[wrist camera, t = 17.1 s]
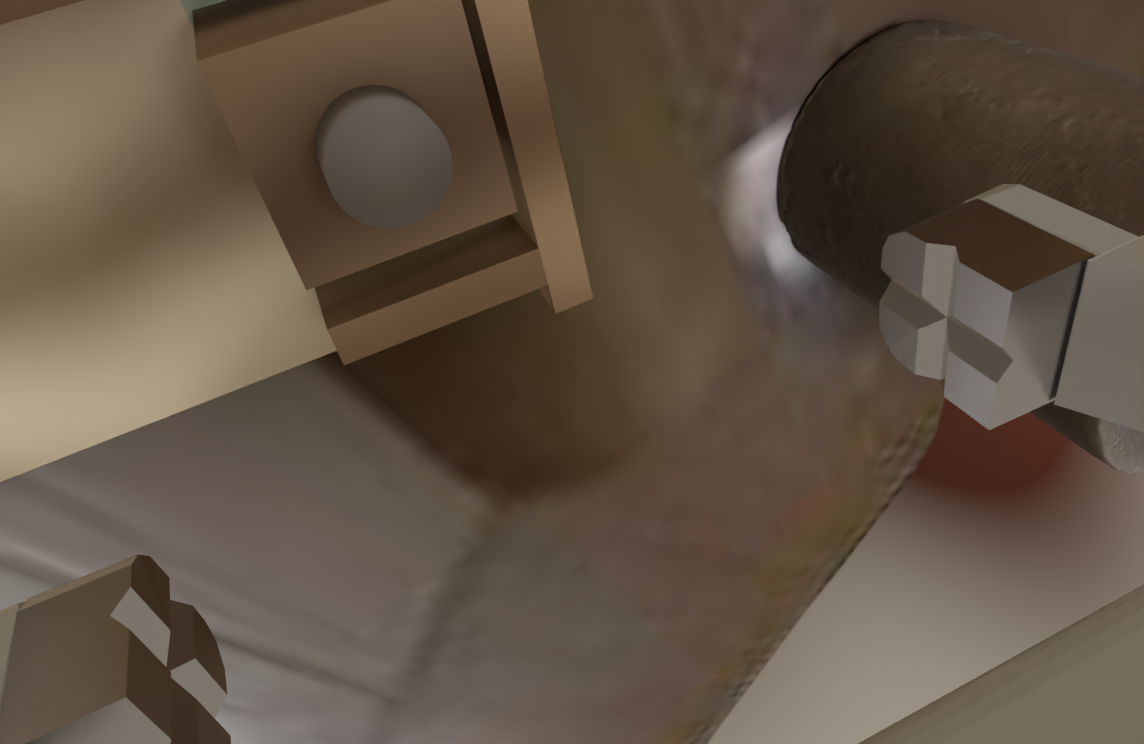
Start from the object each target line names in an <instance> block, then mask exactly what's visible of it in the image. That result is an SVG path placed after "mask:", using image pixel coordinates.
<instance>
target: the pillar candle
mask: <svg viewBox="0 0 1144 744" xmlns="http://www.w3.org/2000/svg"><path fill="white" fill-rule="evenodd" d="M1002 184H1021V185H1023V186H1025V187H1027V188H1030V189H1032V190H1034V191H1036V192H1039V193H1041V194H1043V195H1045V196H1048V197H1050V198H1052V199H1054V200H1057V201H1059V202H1061V203H1064V204H1066V205H1068V206H1070V207H1073V208H1075V209H1077V210H1079V211H1082V212H1084V213H1086V214H1088V215H1091V216H1093V217H1095V218H1097V219H1100V220H1102V221H1104V222H1107V223H1109V224H1111V225H1113V226H1116V227H1118V228H1120V229H1122V230H1125V231H1127V232H1129V233H1131V234H1134V235H1136V236H1138V237H1141V236H1143V235H1144V77H1143V76H1139V75H1136V74H1132V73H1129V72H1127V71H1124V70H1120V69H1117V68H1114V67H1111V66H1107V65H1104V64H1100V63H1096V62H1092V61H1089V60H1086V59H1083V58H1079V57H1076V56H1072V55H1069V54H1067V53H1064V52H1058V51H1053V50H1049V49H1045V48H1042V47H1038V46H1036V45H1031V44H1029V43H1026V42H1023V41H1021V40H1020V39H1014V38H1011V37H1006V36H1003V35H998V34H996V33H993V32H988V31H984V30H980V29H974V28H969V27H962V26H958V25H955V24H951V23H946V22H941V21H928V20H923V21H915V22H908V23H904V24H900V25H897V26H895V27H893V28H891V29H887V30H885V31H883V32H881V33H879V34H877V35H876V36H874V37H873V38H871V39H870V40H869V41H867V42H866V43H864V44H863V45H861V46H859V47H858V48H856V49H855V50H854V51H852V52H851V53H850V54H848V55H847V56H846V57H845V58H844V59H843V60H842V61H840V62H839V63H838V64H837V65H836V66H835V67H834V68H833V69H832V70H831V71H830V72H829V73H828V74H827V75H826V76H825V77H824V78H823V79H822V81H821V82H820V83H819V85H818V86H817V87H816V90H815V91H814V93H813V94H812V95H810V97H809V99H808V100H807V102H806V104H805V106H804V108H803V110H802V112H801V114H800V116H799V118H798V119H797V120H796V122H795V124H794V131H793V132H792V133H791V135H790V138H789V141H788V144H787V147H786V150H785V155H784V159H783V162H782V166H781V179H780V191H779V209H780V212H779V214H780V216H781V220H782V222H783V223H785V226H786V229H787V231H788V232H789V233H790V235H791V238H792V242H793V245H794V246H795V248H796V250H797V251H798V252H800V253H801V254H802V255H803V256H804V257H805V258H807V259H808V260H809V261H810V262H812V263H813V264H815V265H816V266H818V267H819V268H821V269H822V270H823V271H825V272H826V273H828V274H829V275H831V276H832V277H833V278H835V279H836V280H838V281H839V282H841V283H842V284H844V285H845V286H846V287H848V288H849V289H850V290H852V291H853V292H855V293H856V294H858V295H859V296H861V297H862V298H863V299H865V300H866V301H868V302H869V303H871V304H872V305H874V306H875V307H877V308H878V309H879V301H880V300H881V298H882V296H883V294H884V293H885V291H886V289H887V287H888V285H889V284H890V282H891V279H890V278H889V277H888V276H887V275H886V274H885V273H884V272H883V271H882V269H881V260H882V249H883V247H884V245H885V242H886V240H887V238H888V236H889V235H891V234H893V233H895V232H898V231H900V230H902V229H905V228H907V227H909V226H912V225H914V224H916V223H919V222H921V221H923V220H925V219H928V218H930V217H932V216H935V215H937V214H939V213H942V212H944V211H946V210H949V209H951V208H953V207H955V206H958V205H960V204H963V203H964V202H965V201H966V200H969V199H971V198H973V197H975V196H977V195H980V194H982V193H984V192H986V191H988V190H991V189H993V188H995V187H997V186H999V185H1002ZM1054 402H1055V400H1054V401H1052V402H1050V403H1047V404H1045V405H1043V406H1041V407H1039V408H1036V409H1034V410H1032V411H1030V412H1031V413H1032V414H1034V415H1035V416H1036V417H1038V418H1039V419H1041V420H1042V421H1043V422H1045V423H1046V424H1048V425H1049V426H1051V427H1052V428H1054V429H1055V430H1056V431H1058V432H1059V433H1061V434H1062V435H1064V436H1065V437H1066V438H1068V439H1069V440H1071V441H1072V442H1074V443H1076V444H1077V445H1078V446H1080V447H1081V448H1083V449H1084V450H1086V451H1087V452H1089V453H1090V454H1091V455H1093V456H1094V457H1096V458H1098V459H1100V460H1101V461H1103V462H1104V463H1106V464H1107V465H1109V466H1110V467H1111V468H1113V469H1115V470H1117V471H1121V472H1123V473H1126V474H1144V432H1142V431H1139V430H1135V429H1132V428H1129V427H1126V426H1122V425H1119V424H1116V423H1113V422H1109V421H1106V420H1103V419H1100V418H1096V417H1093V416H1090V415H1087V414H1084V413H1080V412H1077V411H1074V410H1071V409H1067V408H1064V407H1061V406H1058V405H1054Z"/></svg>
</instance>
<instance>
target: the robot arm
mask: <svg viewBox="0 0 1144 744" xmlns="http://www.w3.org/2000/svg"><path fill="white" fill-rule="evenodd" d="M881 269H882V271H883V272H884V273H885V274H886V275H887V276H888V277H889V278H890V279H891V282H890V284H889V285H888V287H887V289H886V291H885V293H884V294H883V296H882V298H881V300H880V301H879V326H880V329H881V331H882V334H883V336H884V339H885V341H886V344H887V346H888V348H889V349H890V351H891V352H892V353H893V354H894V356H895V357H896V358H897V360H898V361H899V362H900V363H902V364H903V365H904V366H905V367H907V368H908V369H909V370H910V371H912V372H913V373H914V374H917V375H921V376H926V377H931V378H935V379H940V380H941V385H942V390H943V395H944V397H946V398H947V399H948V400H950V401H951V402H952V403H954V404H955V405H956V406H958V407H959V408H960V409H962V410H963V411H964V412H966V413H967V414H968V415H970V416H971V417H972V418H974V419H975V420H976V421H978V422H979V423H980V424H982V425H983V426H984V427H985V428H987V429H988V430H990V429H993V428H995V427H997V426H999V425H1001V424H1003V423H1006V422H1008V421H1010V420H1012V419H1015V418H1017V417H1019V416H1021V415H1023V414H1025V413H1027V412H1030V411H1032V410H1034V409H1036V408H1039V407H1041V406H1043V405H1045V404H1047V403H1050V402H1052V401H1054V400H1055V402H1054V405H1058V406H1061V407H1064V408H1067V409H1071V410H1074V411H1077V412H1080V413H1084V414H1087V415H1090V416H1093V417H1096V418H1100V419H1103V420H1106V421H1109V422H1113V423H1116V424H1119V425H1122V426H1126V427H1129V428H1132V429H1135V430H1139V431H1142V432H1144V235H1143V236H1141V237H1138V236H1136V235H1134V234H1131V233H1129V232H1127V231H1125V230H1122V229H1120V228H1118V227H1116V226H1113V225H1111V224H1109V223H1107V222H1104V221H1102V220H1100V219H1097V218H1095V217H1093V216H1091V215H1088V214H1086V213H1084V212H1082V211H1079V210H1077V209H1075V208H1073V207H1070V206H1068V205H1066V204H1064V203H1061V202H1059V201H1057V200H1054V199H1052V198H1050V197H1048V196H1045V195H1043V194H1041V193H1039V192H1036V191H1034V190H1032V189H1030V188H1027V187H1025V186H1023V185H1021V184H1002V185H999V186H997V187H995V188H993V189H991V190H988V191H986V192H984V193H982V194H980V195H977V196H975V197H973V198H971V199H969V200H966V201H965V202H964V203H963V204H960V205H958V206H955V207H953V208H951V209H949V210H946V211H944V212H942V213H939V214H937V215H935V216H932V217H930V218H928V219H925V220H923V221H921V222H919V223H916V224H914V225H912V226H909V227H907V228H905V229H902V230H900V231H898V232H895V233H893V234H891V235H889V236H888V238H887V240H886V242H885V245H884V247H883V249H882V260H881ZM226 696H227V688H226V678H225V669H224V665H223V662H222V659H221V656H220V652H219V649H218V646H217V643H216V640H215V638H214V636H213V635H212V633H211V631H210V629H209V627H208V626H207V624H206V622H205V620H204V619H203V618H202V617H201V615H200V614H199V613H198V612H197V610H196V609H195V608H194V607H193V606H192V605H188V604H184V603H180V602H176V601H172V600H170V588H169V577H168V576H167V575H166V573H165V572H164V571H163V570H162V569H161V568H160V567H159V566H158V565H157V564H156V562H155V561H154V560H153V559H152V558H151V557H150V556H144V555H136V556H133V557H131V558H128V559H126V560H123V561H121V562H118V563H116V564H113V565H111V566H108V567H106V568H103V569H101V570H98V571H96V572H93V573H91V574H88V575H86V576H83V577H81V578H78V579H76V580H73V581H71V582H68V583H66V584H64V585H61V586H59V587H56V588H54V589H51V590H49V591H46V592H44V593H41V594H39V595H36V596H34V597H31V598H29V599H27V601H25V602H22V603H18V604H16V605H13V606H11V607H9V608H6V609H4V610H1V611H0V744H231V739H230V735H229V734H228V733H227V732H226V730H225V729H224V728H223V727H222V726H221V725H220V724H219V723H218V722H217V721H216V720H215V717H216V715H217V713H218V711H219V709H220V707H221V706H222V704H223V702H224V700H225V698H226ZM858 744H1144V585H1142V586H1140V587H1138V588H1136V589H1134V590H1133V591H1131V592H1129V593H1127V594H1125V595H1124V596H1122V597H1120V598H1118V599H1117V600H1115V601H1113V602H1111V603H1109V604H1108V605H1106V606H1104V607H1102V608H1100V609H1099V610H1097V611H1095V612H1093V613H1091V614H1090V615H1088V616H1086V617H1084V618H1082V619H1081V620H1079V621H1077V622H1075V623H1073V624H1072V625H1070V626H1068V627H1067V628H1065V629H1063V630H1061V631H1059V632H1057V633H1056V634H1054V635H1052V636H1051V637H1049V638H1047V639H1045V640H1043V641H1041V642H1040V643H1038V644H1036V645H1034V646H1032V647H1030V648H1029V649H1027V650H1025V651H1023V652H1022V653H1020V654H1018V655H1016V656H1014V657H1013V658H1011V659H1009V660H1007V661H1005V662H1004V663H1002V664H1000V665H998V666H996V667H995V668H993V669H991V670H989V671H987V672H986V673H984V674H982V675H980V676H978V677H977V678H975V679H973V680H971V681H970V682H968V683H966V684H964V685H963V686H961V687H959V688H957V689H955V690H954V691H952V692H950V693H948V694H947V695H944V696H943V697H941V698H939V699H937V700H936V701H934V702H932V703H930V704H928V705H927V706H925V707H923V708H921V709H920V710H918V711H916V712H914V713H912V714H910V715H909V716H907V717H905V718H903V719H901V720H900V721H898V722H896V723H894V724H893V725H891V726H889V727H887V728H885V729H884V730H882V731H880V732H878V733H876V734H875V735H873V736H871V737H869V738H867V739H866V740H864V741H862V742H860V743H858Z"/></svg>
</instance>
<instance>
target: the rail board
mask: <svg viewBox="0 0 1144 744" xmlns="http://www.w3.org/2000/svg"><path fill="white" fill-rule="evenodd" d="M223 1H226V0H0V482H1V481H4V480H7V479H9V478H12V477H14V476H17V475H19V474H22V473H24V472H27V471H30V470H32V469H35V468H37V467H40V466H42V465H45V464H48V463H50V462H53V461H55V460H58V459H60V458H63V457H65V456H68V455H71V454H73V453H76V452H78V451H81V450H83V449H86V448H89V447H91V446H94V445H96V444H99V443H101V442H104V441H106V440H109V439H112V438H114V437H117V436H119V435H122V434H124V433H127V432H130V431H132V430H135V429H137V428H140V427H142V426H145V425H147V424H150V423H153V422H155V421H158V420H160V419H163V418H165V417H168V416H171V415H173V414H176V413H178V412H181V411H183V410H186V409H188V408H191V407H194V406H196V405H199V404H201V403H204V402H206V401H209V400H212V399H214V398H217V397H219V396H222V395H224V394H227V393H229V392H232V391H235V390H237V389H240V388H242V387H245V386H247V385H250V384H253V383H255V382H258V381H260V380H263V379H265V378H268V377H270V376H273V375H276V374H278V373H281V372H283V371H286V370H288V369H291V368H294V367H296V366H299V365H301V364H304V363H306V362H309V361H312V360H314V359H317V358H319V357H322V356H324V355H327V354H329V353H332V352H335V351H337V352H338V354H339V356H340V358H341V360H342V362H343V364H344V365H346V364H349V363H351V362H354V361H356V360H359V359H362V358H364V357H367V356H369V355H372V354H374V353H377V352H379V351H382V350H384V349H387V348H389V347H392V346H394V345H397V344H400V343H402V342H405V341H407V340H410V339H412V338H415V337H417V336H420V335H422V334H425V333H427V332H430V331H433V330H435V329H438V328H440V327H443V326H445V325H448V324H450V323H453V322H455V321H458V320H460V319H463V318H466V317H468V316H471V315H473V314H476V313H478V312H481V311H483V310H486V309H488V308H491V307H493V306H496V305H498V304H501V303H504V302H506V301H509V300H511V299H514V298H516V297H519V296H521V295H524V294H526V293H529V292H531V291H534V290H538V291H539V292H540V294H541V295H542V296H543V298H544V299H545V300H546V302H547V303H548V304H549V305H550V307H551V308H552V309H553V311H554V312H555V313H559V312H561V311H563V310H566V309H568V308H571V307H573V306H576V305H578V304H581V303H583V302H586V301H588V300H591V299H593V295H592V291H591V286H590V282H589V277H588V272H587V268H586V263H585V259H584V254H583V250H582V245H581V241H580V236H579V232H578V227H577V223H576V218H575V214H574V209H573V205H572V200H571V195H570V191H569V186H568V182H567V177H566V173H565V168H564V164H563V159H562V155H561V150H560V146H559V141H558V137H557V132H556V127H555V123H554V118H553V114H552V109H551V105H550V100H549V96H548V91H547V87H546V82H545V78H544V73H543V69H542V64H541V60H540V55H539V50H538V46H537V41H536V37H535V32H534V28H533V23H532V19H531V14H530V10H529V5H528V1H527V0H461V2H462V5H463V9H464V13H465V17H466V20H467V24H468V28H469V31H470V35H471V39H472V43H473V46H474V50H475V54H476V58H477V61H478V65H479V69H480V72H481V76H482V80H483V84H484V87H485V91H486V95H487V99H488V102H489V106H490V110H491V113H492V117H493V121H494V125H495V128H496V132H497V136H498V140H499V143H500V147H501V151H502V154H503V158H504V162H505V166H506V169H507V173H508V177H509V181H510V184H511V188H512V192H513V195H514V199H515V203H516V207H517V210H518V212H515V213H513V214H510V215H507V216H505V217H502V218H499V219H497V220H494V221H491V222H489V223H486V224H483V225H480V226H478V227H475V228H472V229H470V230H467V231H464V232H462V233H459V234H456V235H454V236H451V237H448V238H446V239H443V240H440V241H438V242H435V243H432V244H430V245H427V246H424V247H422V248H419V249H416V250H414V251H411V252H408V253H406V254H403V255H400V256H398V257H395V258H392V259H390V260H387V261H384V262H382V263H379V264H376V265H374V266H371V267H368V268H366V269H363V270H360V271H357V272H355V273H352V274H349V275H347V276H344V277H341V278H339V279H336V280H333V281H331V282H328V283H325V284H323V285H320V286H317V287H315V288H312V289H309V290H307V291H306V289H305V287H304V285H303V282H302V280H301V278H300V276H299V274H298V272H297V270H296V268H295V266H294V264H293V262H292V259H291V257H290V255H289V253H288V251H287V249H286V247H285V245H284V243H283V241H282V239H281V236H280V234H279V232H278V230H277V228H276V226H275V224H274V222H273V220H272V218H271V216H270V213H269V211H268V209H267V207H266V205H265V203H264V201H263V199H262V197H261V195H260V193H259V190H258V188H257V186H256V184H255V182H254V180H253V178H252V176H251V174H250V172H249V170H248V167H247V165H246V163H245V161H244V159H243V157H242V155H241V153H240V151H239V149H238V146H237V144H236V142H235V140H234V138H233V136H232V134H231V132H230V130H229V128H228V126H227V123H226V121H225V119H224V117H223V115H222V113H221V111H220V109H219V107H218V105H217V103H216V100H215V98H214V96H213V94H212V92H211V90H210V88H209V86H208V84H207V82H206V80H205V77H204V75H203V73H202V71H201V69H200V67H199V65H198V63H197V58H196V47H195V36H194V25H193V14H192V11H193V10H196V9H200V8H203V7H206V6H210V5H213V4H216V3H220V2H223Z"/></svg>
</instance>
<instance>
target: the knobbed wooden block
mask: <svg viewBox="0 0 1144 744" xmlns="http://www.w3.org/2000/svg"><path fill="white" fill-rule="evenodd" d="M192 14H193V25H194V36H195V47H196V58H197V63H198V65H199V67H200V69H201V71H202V73H203V75H204V77H205V80H206V82H207V84H208V86H209V88H210V90H211V92H212V94H213V96H214V98H215V100H216V103H217V105H218V107H219V109H220V111H221V113H222V115H223V117H224V119H225V121H226V123H227V126H228V128H229V130H230V132H231V134H232V136H233V138H234V140H235V142H236V144H237V146H238V149H239V151H240V153H241V155H242V157H243V159H244V161H245V163H246V165H247V167H248V170H249V172H250V174H251V176H252V178H253V180H254V182H255V184H256V186H257V188H258V190H259V193H260V195H261V197H262V199H263V201H264V203H265V205H266V207H267V209H268V211H269V213H270V216H271V218H272V220H273V222H274V224H275V226H276V228H277V230H278V232H279V234H280V236H281V239H282V241H283V243H284V245H285V247H286V249H287V251H288V253H289V255H290V257H291V259H292V262H293V264H294V266H295V268H296V270H297V272H298V274H299V276H300V278H301V280H302V282H303V285H304V287H305V289H306V291H307V290H309V289H312V288H315V287H317V286H320V285H323V284H325V283H328V282H331V281H333V280H336V279H339V278H341V277H344V276H347V275H349V274H352V273H355V272H357V271H360V270H363V269H366V268H368V267H371V266H374V265H376V264H379V263H382V262H384V261H387V260H390V259H392V258H395V257H398V256H400V255H403V254H406V253H408V252H411V251H414V250H416V249H419V248H422V247H424V246H427V245H430V244H432V243H435V242H438V241H440V240H443V239H446V238H448V237H451V236H454V235H456V234H459V233H462V232H464V231H467V230H470V229H472V228H475V227H478V226H480V225H483V224H486V223H489V222H491V221H494V220H497V219H499V218H502V217H505V216H507V215H510V214H513V213H515V212H518V210H517V207H516V203H515V199H514V195H513V192H512V188H511V184H510V181H509V177H508V173H507V169H506V166H505V162H504V158H503V154H502V151H501V147H500V143H499V140H498V136H497V132H496V128H495V125H494V121H493V117H492V113H491V110H490V106H489V102H488V99H487V95H486V91H485V87H484V84H483V80H482V76H481V72H480V69H479V65H478V61H477V58H476V54H475V50H474V46H473V43H472V39H471V35H470V31H469V28H468V24H467V20H466V17H465V13H464V9H463V5H462V2H461V0H226V1H223V2H220V3H216V4H213V5H210V6H206V7H203V8H200V9H196V10H193V11H192Z"/></svg>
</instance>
